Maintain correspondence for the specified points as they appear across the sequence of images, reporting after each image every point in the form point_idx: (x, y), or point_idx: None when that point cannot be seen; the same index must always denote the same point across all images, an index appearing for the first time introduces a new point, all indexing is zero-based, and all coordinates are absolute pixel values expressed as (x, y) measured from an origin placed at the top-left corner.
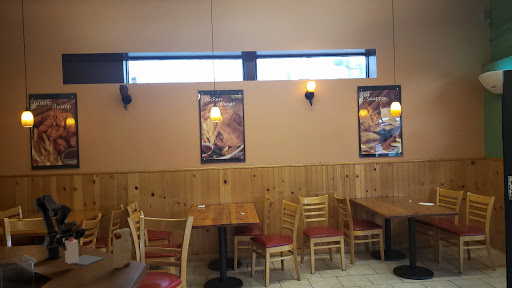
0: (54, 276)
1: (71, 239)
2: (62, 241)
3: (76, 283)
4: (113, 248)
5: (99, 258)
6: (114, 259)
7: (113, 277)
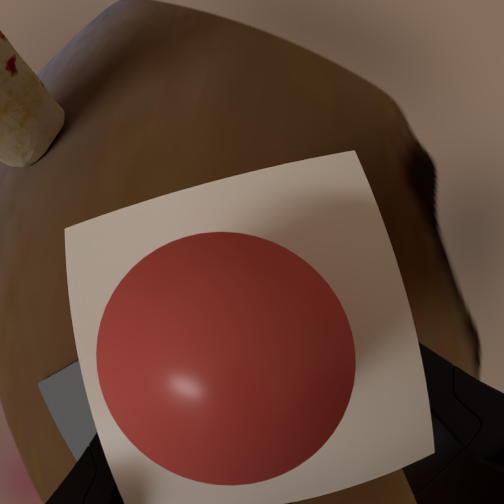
0: (397, 204)
1: (217, 249)
2: (480, 431)
3: (275, 35)
4: (10, 47)
5: (58, 394)
6: (43, 87)
7: (128, 37)
